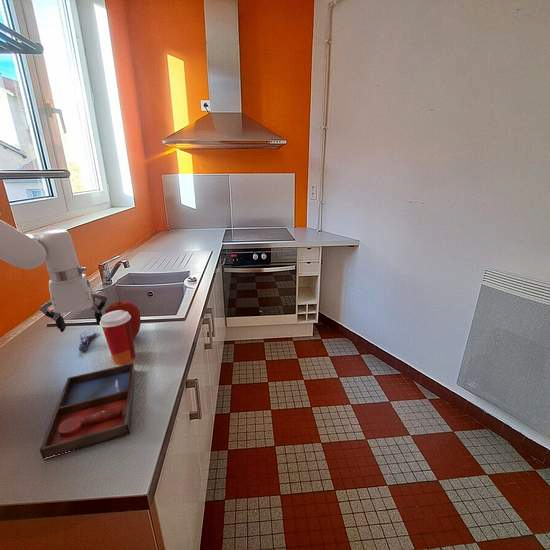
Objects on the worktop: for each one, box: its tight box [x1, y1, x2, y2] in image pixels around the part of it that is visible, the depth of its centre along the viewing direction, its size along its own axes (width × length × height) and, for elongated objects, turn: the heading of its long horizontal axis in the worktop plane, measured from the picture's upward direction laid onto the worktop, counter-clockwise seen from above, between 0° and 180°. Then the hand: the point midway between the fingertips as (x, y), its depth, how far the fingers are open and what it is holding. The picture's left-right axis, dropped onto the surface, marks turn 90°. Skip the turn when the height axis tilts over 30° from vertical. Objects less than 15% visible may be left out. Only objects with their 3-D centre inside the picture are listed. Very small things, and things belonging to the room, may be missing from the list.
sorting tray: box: [39, 362, 136, 459], centre depth 68 cm, size 15×22×3 cm
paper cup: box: [99, 310, 136, 366], centre depth 84 cm, size 8×8×14 cm
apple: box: [104, 298, 142, 339], centre depth 94 cm, size 10×10×14 cm
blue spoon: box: [78, 329, 97, 353], centre depth 95 cm, size 12×4×2 cm, turn 21°
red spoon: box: [58, 407, 123, 437], centre depth 64 cm, size 12×4×2 cm, turn 111°
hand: (81, 326), depth 92 cm, fingers open, 9 cm apart
